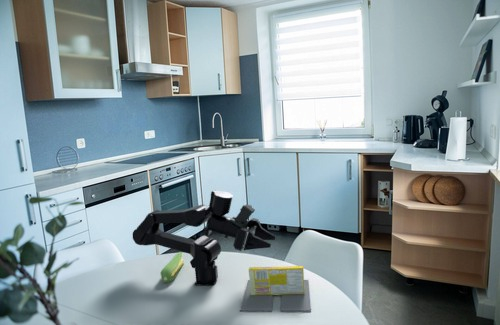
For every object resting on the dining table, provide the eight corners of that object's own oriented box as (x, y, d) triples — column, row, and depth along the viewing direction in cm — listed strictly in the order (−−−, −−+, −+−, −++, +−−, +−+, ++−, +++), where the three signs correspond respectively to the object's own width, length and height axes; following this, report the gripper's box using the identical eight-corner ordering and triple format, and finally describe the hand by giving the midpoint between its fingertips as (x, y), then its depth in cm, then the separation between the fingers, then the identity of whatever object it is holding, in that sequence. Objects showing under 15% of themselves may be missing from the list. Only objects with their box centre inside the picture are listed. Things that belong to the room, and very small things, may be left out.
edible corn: (155, 273, 121) (168, 269, 120) (175, 251, 141) (185, 247, 140) (161, 288, 121) (173, 284, 121) (180, 263, 141) (190, 260, 140)
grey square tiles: (240, 311, 103) (240, 310, 103) (248, 281, 120) (247, 280, 120) (310, 311, 101) (310, 310, 100) (308, 280, 118) (308, 279, 118)
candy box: (304, 291, 111) (303, 265, 109) (304, 294, 109) (303, 268, 107) (251, 291, 112) (249, 266, 111) (250, 295, 110) (248, 269, 109)
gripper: (224, 206, 106) (275, 223, 103) (239, 197, 124) (284, 211, 121) (214, 242, 107) (265, 260, 104) (231, 228, 125) (274, 243, 122)
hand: (273, 241), depth 113 cm, fingers open, 9 cm apart
